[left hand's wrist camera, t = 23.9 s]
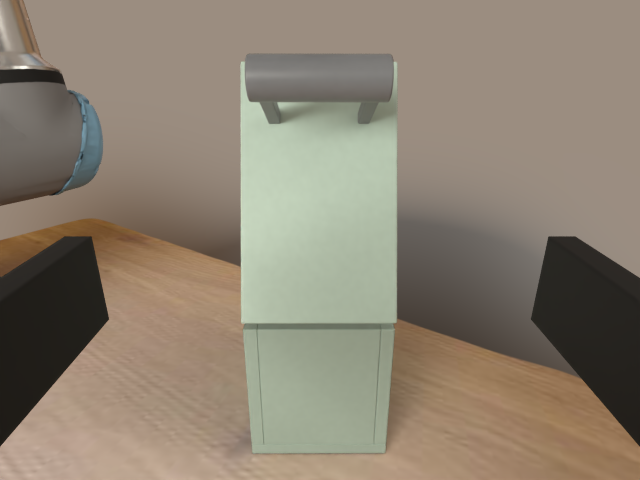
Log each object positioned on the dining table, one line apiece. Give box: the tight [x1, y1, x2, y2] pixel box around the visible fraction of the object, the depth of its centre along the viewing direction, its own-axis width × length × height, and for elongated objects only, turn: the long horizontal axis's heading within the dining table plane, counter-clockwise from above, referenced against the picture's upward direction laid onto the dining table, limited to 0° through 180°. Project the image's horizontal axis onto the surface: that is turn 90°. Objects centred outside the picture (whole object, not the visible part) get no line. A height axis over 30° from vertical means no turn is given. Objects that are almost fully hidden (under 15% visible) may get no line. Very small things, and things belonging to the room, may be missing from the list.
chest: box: [243, 323, 395, 453], centre depth 34 cm, size 15×9×10 cm, turn 0°
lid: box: [241, 54, 397, 324], centre depth 22 cm, size 15×9×8 cm
